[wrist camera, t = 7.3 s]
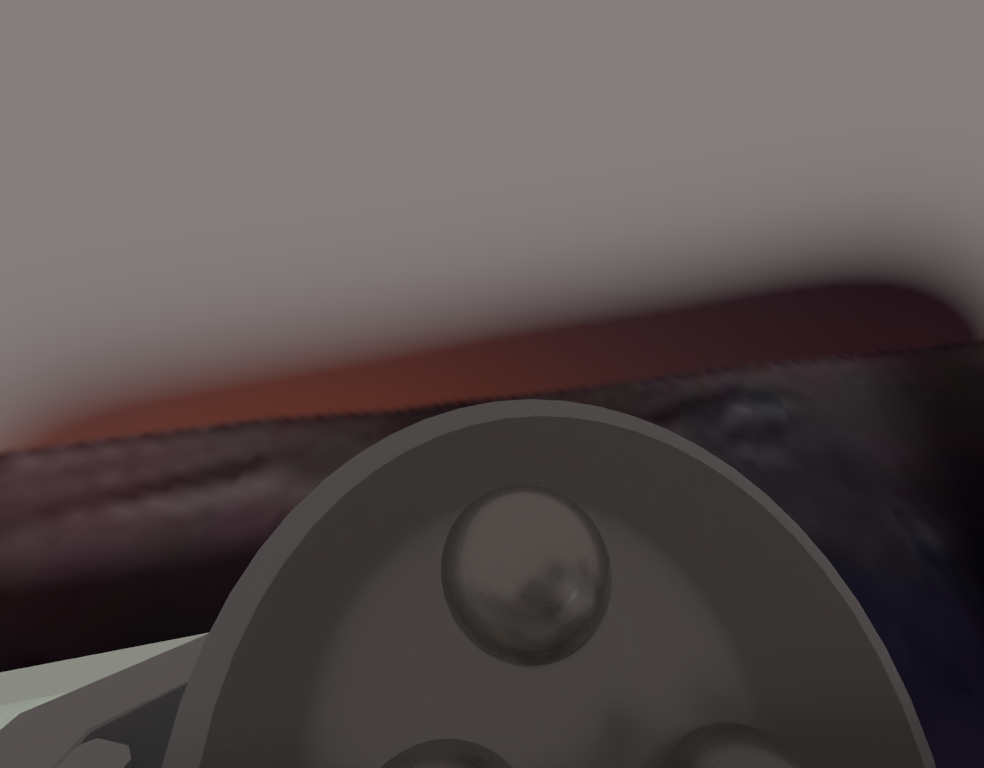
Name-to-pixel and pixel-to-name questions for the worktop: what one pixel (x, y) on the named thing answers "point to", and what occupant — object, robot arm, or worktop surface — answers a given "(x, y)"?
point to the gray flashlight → (542, 615)
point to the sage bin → (69, 676)
